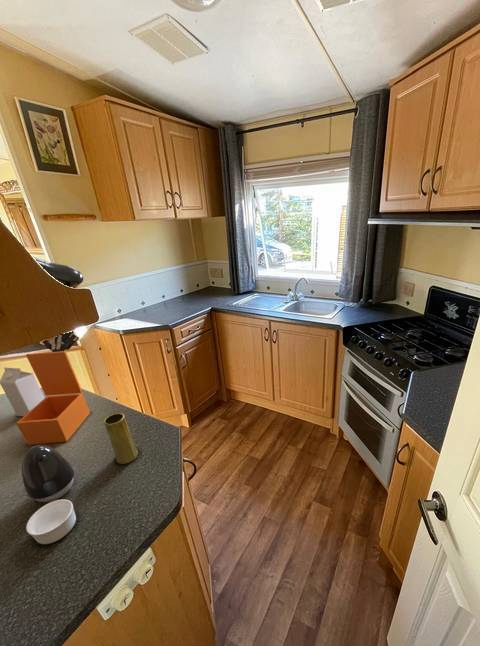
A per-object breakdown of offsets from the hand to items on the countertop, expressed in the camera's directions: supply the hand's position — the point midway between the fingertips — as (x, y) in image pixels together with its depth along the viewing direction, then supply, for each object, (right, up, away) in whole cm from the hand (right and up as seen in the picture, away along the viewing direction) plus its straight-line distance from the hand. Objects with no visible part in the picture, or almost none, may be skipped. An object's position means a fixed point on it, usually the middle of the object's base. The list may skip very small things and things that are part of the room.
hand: (56, 360), depth 102 cm
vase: (+32, -29, -15) cm, 46 cm away
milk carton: (-16, -20, +10) cm, 28 cm away
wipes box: (+2, -24, 0) cm, 24 cm away
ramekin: (+26, -39, -34) cm, 58 cm away
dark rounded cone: (+19, -35, -25) cm, 47 cm away
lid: (0, -5, -1) cm, 5 cm away
